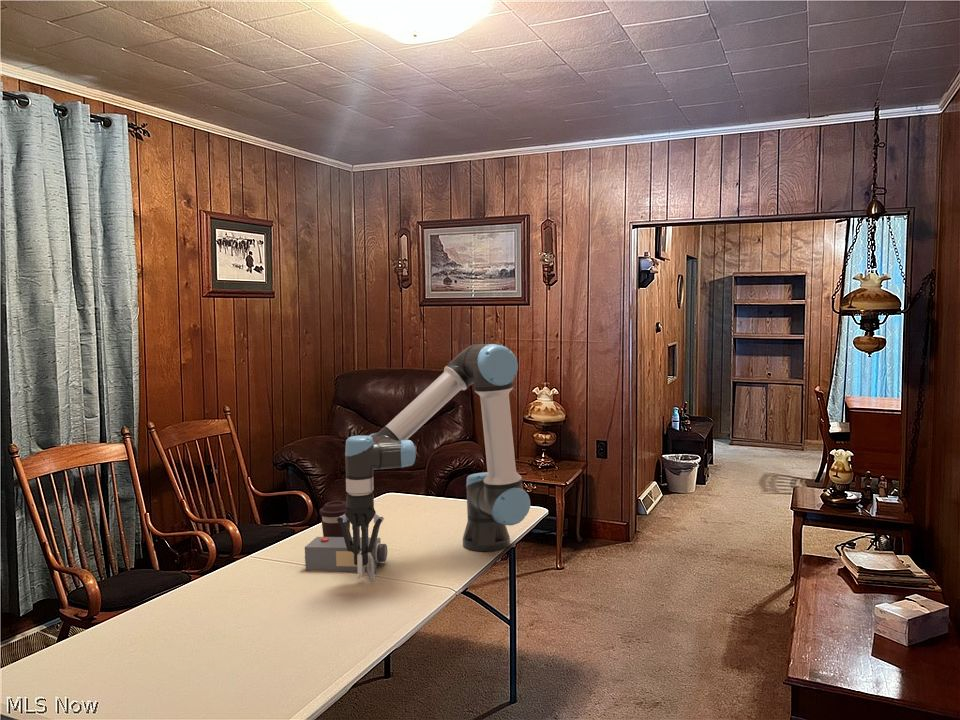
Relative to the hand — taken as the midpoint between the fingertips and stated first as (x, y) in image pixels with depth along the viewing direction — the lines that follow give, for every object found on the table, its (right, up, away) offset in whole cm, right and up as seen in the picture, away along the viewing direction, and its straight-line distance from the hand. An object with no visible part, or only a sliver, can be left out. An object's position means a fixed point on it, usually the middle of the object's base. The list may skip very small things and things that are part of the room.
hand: (361, 576), depth 199 cm
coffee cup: (-13, -1, +30) cm, 32 cm away
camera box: (-7, -1, +14) cm, 15 cm away
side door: (+3, -1, +3) cm, 4 cm away
